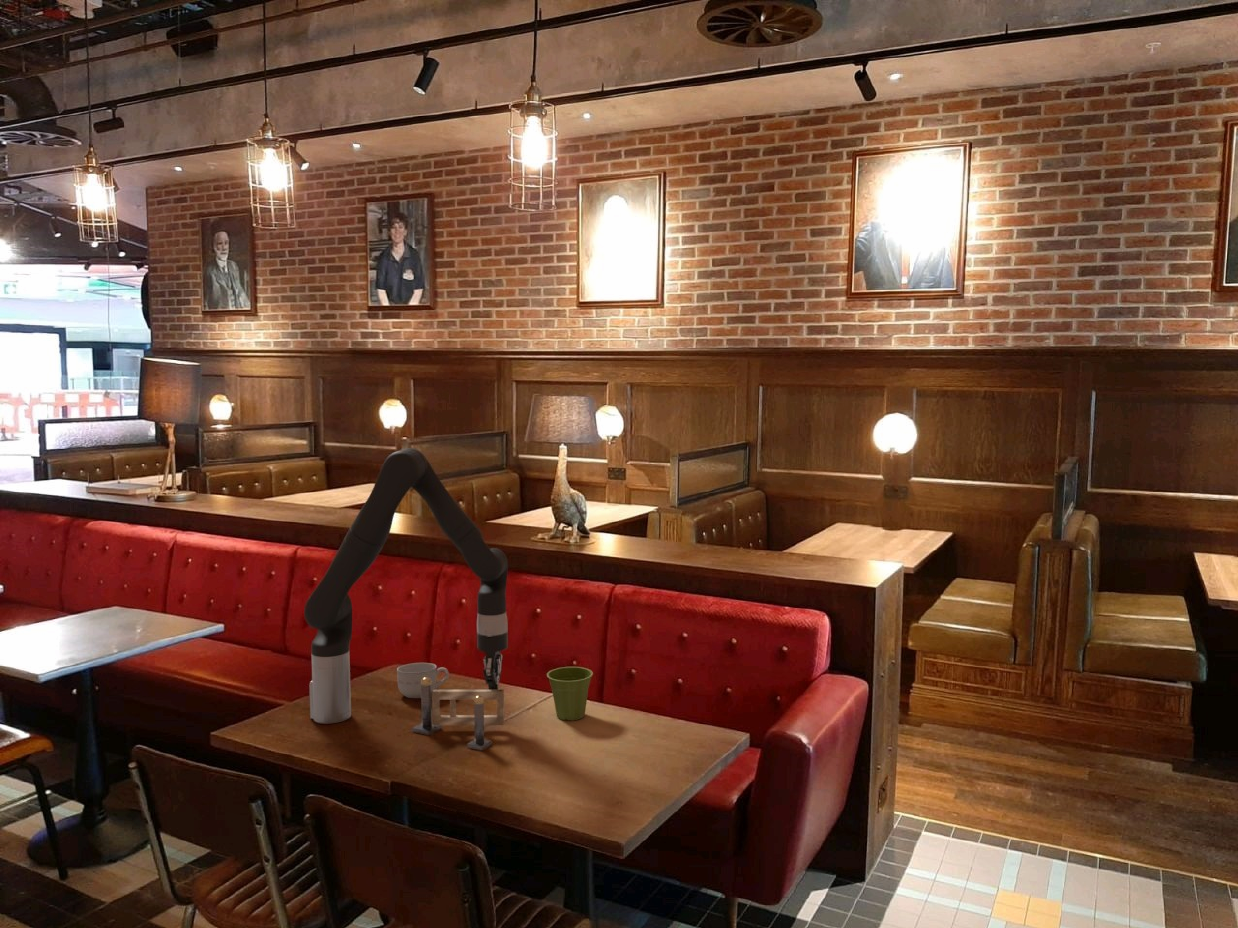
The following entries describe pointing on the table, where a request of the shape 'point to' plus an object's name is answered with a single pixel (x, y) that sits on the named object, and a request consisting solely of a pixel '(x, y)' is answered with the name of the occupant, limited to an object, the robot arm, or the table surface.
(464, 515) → the robot arm
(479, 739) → the latch post
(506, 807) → the table surface
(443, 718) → the gate
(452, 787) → the table surface
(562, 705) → the plant pot
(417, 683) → the teacup
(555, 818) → the table surface
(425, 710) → the hinge post
